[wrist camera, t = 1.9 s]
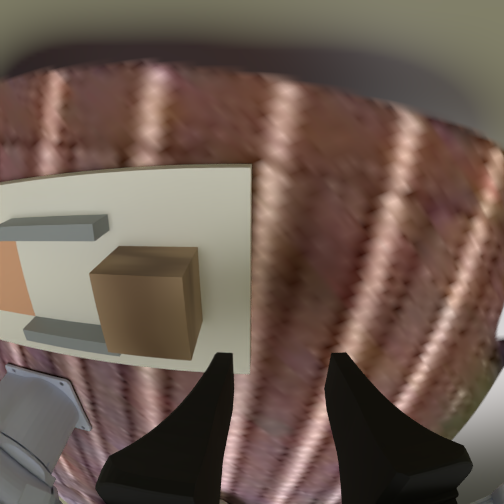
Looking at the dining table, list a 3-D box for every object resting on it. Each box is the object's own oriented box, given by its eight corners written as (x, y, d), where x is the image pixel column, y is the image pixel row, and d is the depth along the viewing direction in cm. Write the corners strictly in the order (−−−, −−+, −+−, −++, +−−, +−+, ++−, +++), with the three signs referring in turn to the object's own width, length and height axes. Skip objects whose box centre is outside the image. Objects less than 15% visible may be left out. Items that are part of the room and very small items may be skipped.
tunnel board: (-39, 316, 25) (-59, 334, 21) (-70, 196, 19) (-96, 207, 16) (250, 356, 24) (248, 393, 20) (251, 163, 19) (249, 172, 15)
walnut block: (130, 316, 20) (108, 352, 17) (118, 245, 19) (88, 273, 15) (202, 320, 20) (191, 360, 17) (197, 246, 18) (182, 277, 15)
